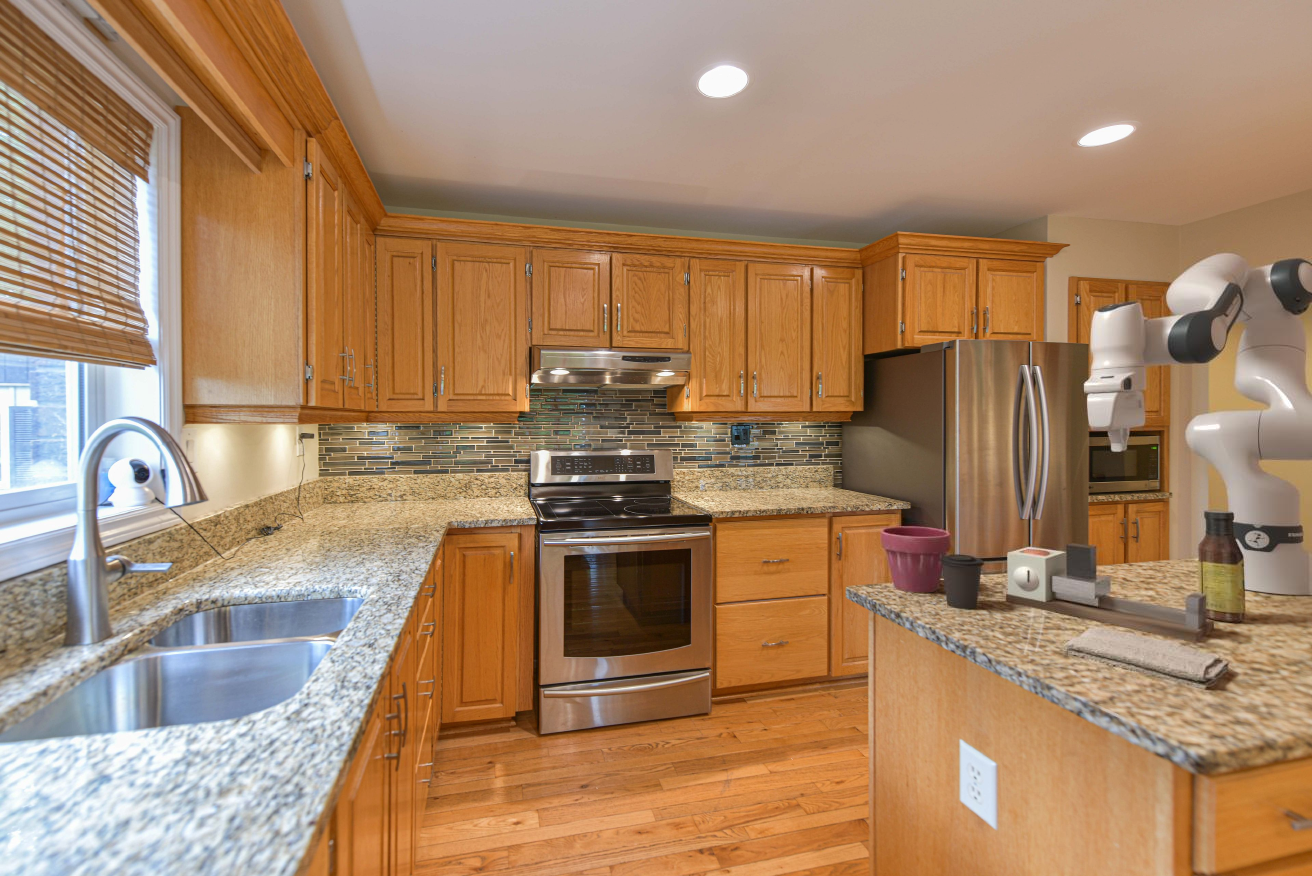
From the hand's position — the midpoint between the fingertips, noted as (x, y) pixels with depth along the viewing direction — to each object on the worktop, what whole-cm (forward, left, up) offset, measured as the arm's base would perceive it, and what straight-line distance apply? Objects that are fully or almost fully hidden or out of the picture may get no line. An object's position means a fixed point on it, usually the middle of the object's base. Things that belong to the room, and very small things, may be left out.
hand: (1119, 451), depth 121 cm
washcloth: (+35, +13, -31) cm, 49 cm away
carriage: (+13, -2, -29) cm, 31 cm away
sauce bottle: (-2, +15, -31) cm, 34 cm away
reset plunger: (+13, -10, -26) cm, 31 cm away
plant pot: (+23, -31, -31) cm, 49 cm away
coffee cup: (+28, -18, -31) cm, 45 cm away
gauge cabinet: (+13, -10, -31) cm, 35 cm away
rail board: (+13, +1, -31) cm, 33 cm away
